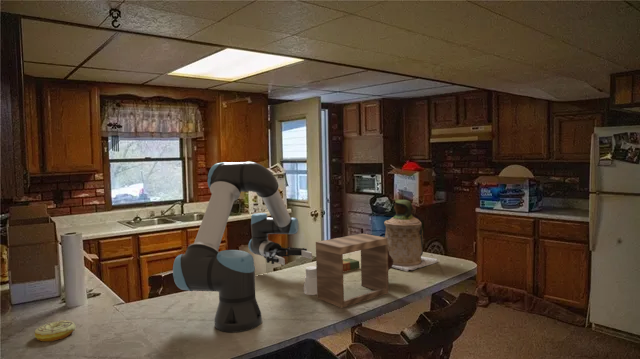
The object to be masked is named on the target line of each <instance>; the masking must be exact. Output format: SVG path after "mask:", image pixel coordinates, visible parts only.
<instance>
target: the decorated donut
mask: <svg viewBox="0 0 640 359" xmlns="http://www.w3.org/2000/svg"><path fill="white" fill-rule="evenodd" d="M76 328H77V327H76V324H75V322H73V321H71V320H67V319H66V320H65V319H64V320H63V319H62V320H57V321H51V322H49V323H46V324H42V325H40V326H38V327H37V328H36V329H35V330H34V337H35V339H37V341H40V342H43V343H44V342H54V341H58V340H63V339H65V338H67V337H69V336H70V335H71V334H72V333H74V331H75V330H76Z"/></svg>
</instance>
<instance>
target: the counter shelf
mask: <svg viewBox="0 0 640 359" xmlns="http://www.w3.org/2000/svg"><path fill="white" fill-rule="evenodd" d="M353 252H354V253H355V252H360V271H361V272H360V276H361V278H360V279H361V281H360V282H361V286H362V287H365V288H368V289H371V290H373V291H370V292H367V293H364V294H360V295H357V296H354V297H349V298H347V299H345V292H344V291H345V289H344V272H343V259H344V255H345V254H350V253H353ZM315 262H316V263H315V264H316V265H315V266H316V268H317V294H316V296H317V299H318V300H320V301H323V302H326V303H328V304H331V305H333V306H336V307H338V308H341V309H342V308H345V307H349V306H352V305H355V304H358V303H362V302H364V301H368V300H371V299H375V298H378V297H381V296H383V295H386V294H390V292H389V291H390V287H389V285H390V284H389V270H388V238H385V236H379V235H372V234H366V233H358V234H352V235H351V234H350V235H347V236H342V237H336V238H335V237H334V238H330V239H325V240H319V241H315Z"/></svg>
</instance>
